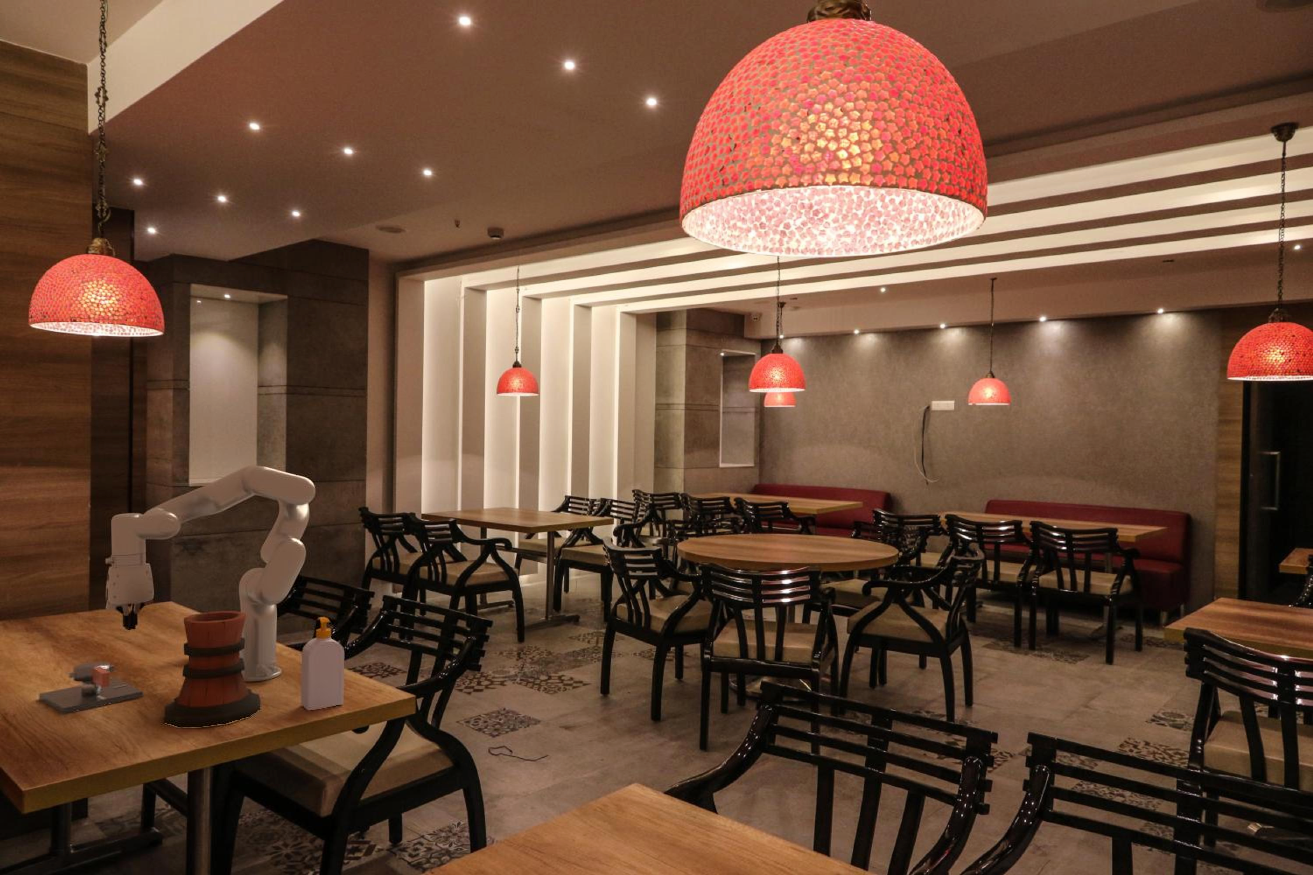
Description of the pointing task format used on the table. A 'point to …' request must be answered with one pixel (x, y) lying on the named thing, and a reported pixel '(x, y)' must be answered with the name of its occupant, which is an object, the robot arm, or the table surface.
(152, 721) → the table surface
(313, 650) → the soap bottle
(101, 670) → the red lever handle
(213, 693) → the red-brown flared vessel
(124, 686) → the post base
